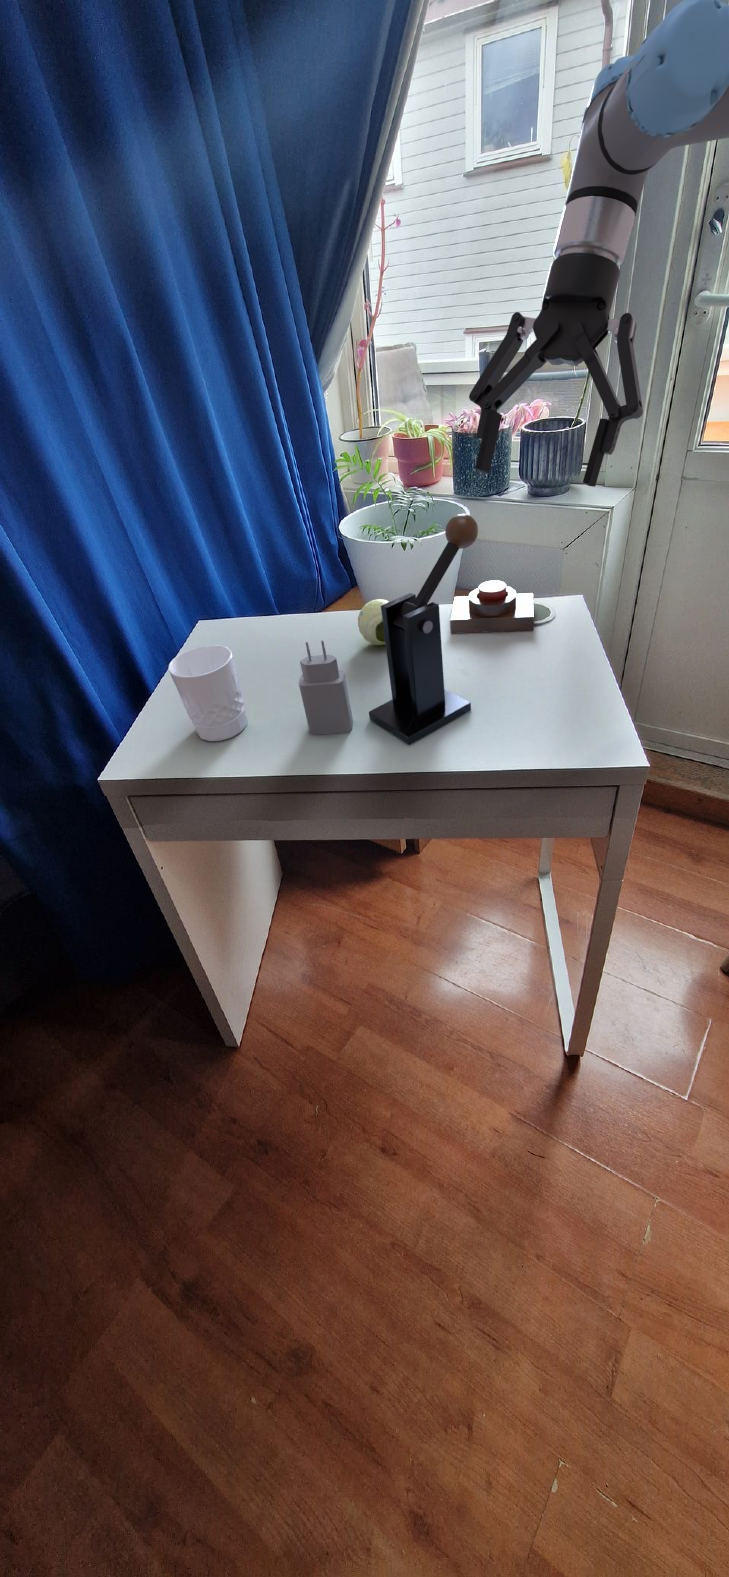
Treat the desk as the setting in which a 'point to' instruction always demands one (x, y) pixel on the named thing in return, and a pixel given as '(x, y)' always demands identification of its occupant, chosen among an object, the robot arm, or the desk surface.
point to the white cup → (210, 691)
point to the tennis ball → (372, 622)
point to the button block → (493, 613)
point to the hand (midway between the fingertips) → (533, 478)
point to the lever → (442, 561)
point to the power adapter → (325, 695)
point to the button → (492, 591)
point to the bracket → (415, 674)
